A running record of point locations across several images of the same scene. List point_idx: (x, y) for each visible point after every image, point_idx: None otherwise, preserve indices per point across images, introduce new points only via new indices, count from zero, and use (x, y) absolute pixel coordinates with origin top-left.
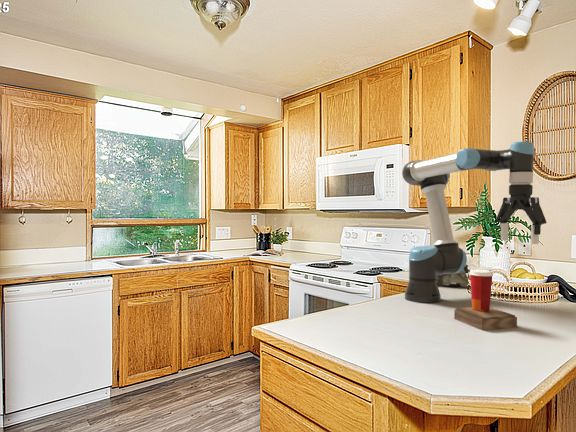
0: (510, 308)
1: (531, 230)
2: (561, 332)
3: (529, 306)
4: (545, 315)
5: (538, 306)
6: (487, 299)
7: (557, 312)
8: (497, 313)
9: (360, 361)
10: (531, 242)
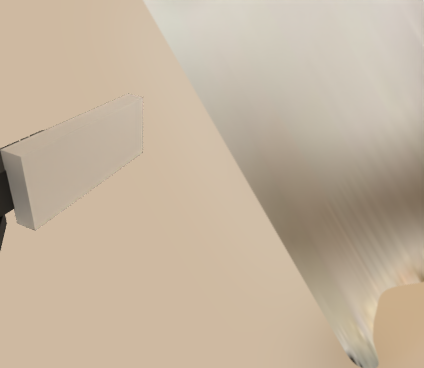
0: (418, 155)
1: (60, 131)
2: (178, 22)
3: (390, 230)
4: (301, 162)
5: (373, 249)
6: None
7: (303, 221)
8: None
9: None
10: (129, 97)
